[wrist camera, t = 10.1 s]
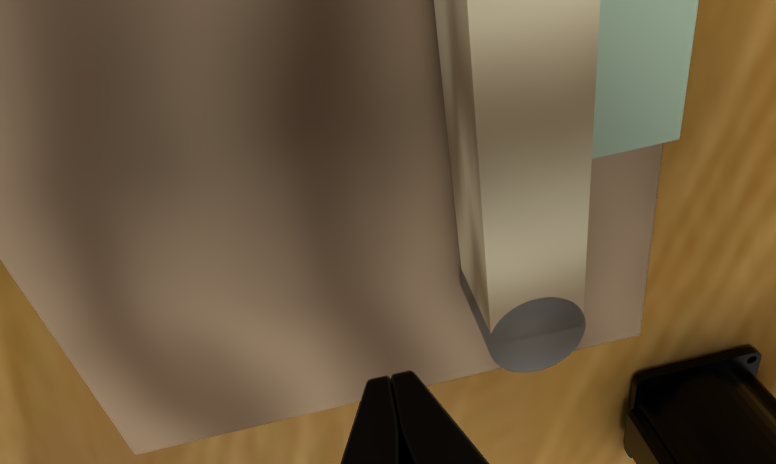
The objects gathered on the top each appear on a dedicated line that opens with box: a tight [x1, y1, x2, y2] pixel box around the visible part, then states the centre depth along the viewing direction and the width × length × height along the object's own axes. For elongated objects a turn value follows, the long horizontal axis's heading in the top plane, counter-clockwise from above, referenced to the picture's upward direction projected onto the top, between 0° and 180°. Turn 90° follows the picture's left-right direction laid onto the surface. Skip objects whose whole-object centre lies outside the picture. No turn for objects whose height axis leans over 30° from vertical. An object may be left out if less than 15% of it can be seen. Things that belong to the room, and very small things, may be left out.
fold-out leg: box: [434, 0, 600, 372], centre depth 16 cm, size 17×3×4 cm, turn 9°
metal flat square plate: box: [0, 0, 663, 455], centre depth 19 cm, size 22×21×2 cm
